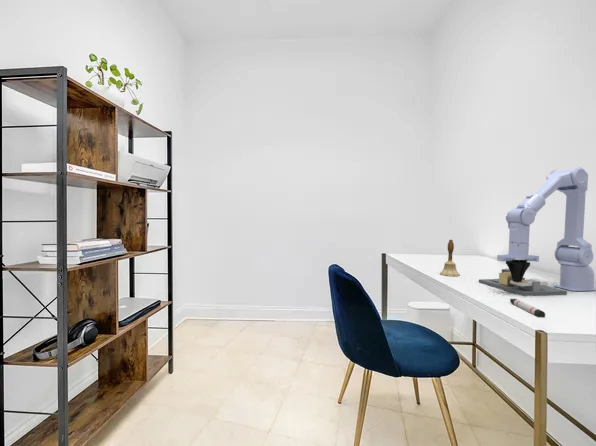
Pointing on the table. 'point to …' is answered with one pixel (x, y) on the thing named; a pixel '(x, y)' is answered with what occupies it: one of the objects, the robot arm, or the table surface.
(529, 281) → the rocker
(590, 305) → the table surface
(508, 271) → the black slider
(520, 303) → the marker
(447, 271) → the hand bell
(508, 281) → the brass slider
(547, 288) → the panel
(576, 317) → the table surface
